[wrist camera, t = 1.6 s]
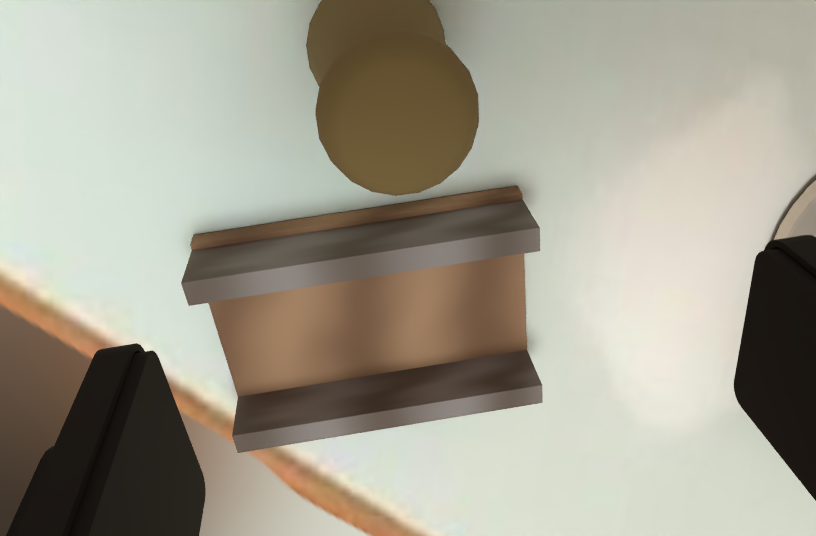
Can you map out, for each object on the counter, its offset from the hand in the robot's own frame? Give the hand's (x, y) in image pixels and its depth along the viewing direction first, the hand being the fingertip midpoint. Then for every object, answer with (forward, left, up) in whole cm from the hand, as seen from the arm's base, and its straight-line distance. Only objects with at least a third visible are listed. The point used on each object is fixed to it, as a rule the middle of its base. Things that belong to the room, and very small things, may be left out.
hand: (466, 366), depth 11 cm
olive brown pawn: (0, 0, -22) cm, 22 cm away
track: (+2, +13, -22) cm, 26 cm away
